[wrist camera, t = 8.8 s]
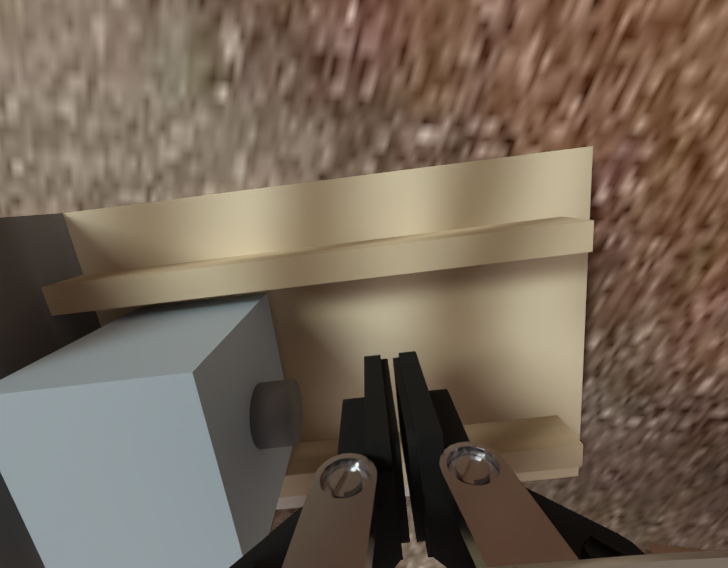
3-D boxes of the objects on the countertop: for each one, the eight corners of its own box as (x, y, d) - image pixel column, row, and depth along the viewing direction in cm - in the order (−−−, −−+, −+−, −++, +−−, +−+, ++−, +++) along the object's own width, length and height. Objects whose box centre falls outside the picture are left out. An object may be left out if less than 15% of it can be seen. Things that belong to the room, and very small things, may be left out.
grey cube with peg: (295, 289, 13) (242, 366, 7) (333, 501, 16) (316, 682, 10) (138, 308, 13) (-35, 397, 8) (200, 514, 16) (107, 701, 10)
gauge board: (578, 148, 13) (904, 84, 5) (567, 462, 16) (750, 703, 9) (4, 221, 13) (-480, 261, 6) (114, 509, 17) (-92, 774, 9)
